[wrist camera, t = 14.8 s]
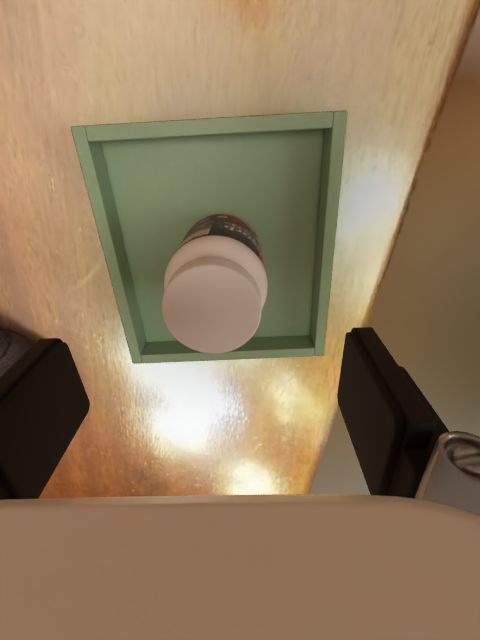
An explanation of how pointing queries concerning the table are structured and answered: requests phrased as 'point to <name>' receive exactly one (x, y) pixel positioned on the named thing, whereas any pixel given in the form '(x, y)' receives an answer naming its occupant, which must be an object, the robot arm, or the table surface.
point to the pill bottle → (215, 285)
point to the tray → (219, 198)
